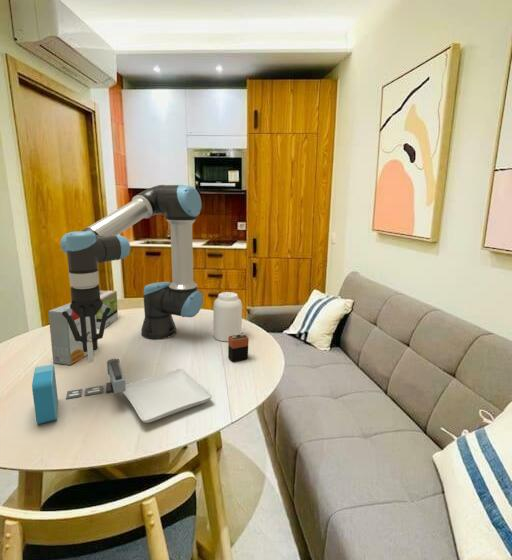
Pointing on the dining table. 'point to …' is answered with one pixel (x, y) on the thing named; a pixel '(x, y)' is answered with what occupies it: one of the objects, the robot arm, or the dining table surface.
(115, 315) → the tea box
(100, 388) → the label plate
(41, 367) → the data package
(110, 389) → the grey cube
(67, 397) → the label plate
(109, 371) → the swing arm
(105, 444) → the dining table surface
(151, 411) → the salad plate
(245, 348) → the battery
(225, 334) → the white jar
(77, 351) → the hard drive box
